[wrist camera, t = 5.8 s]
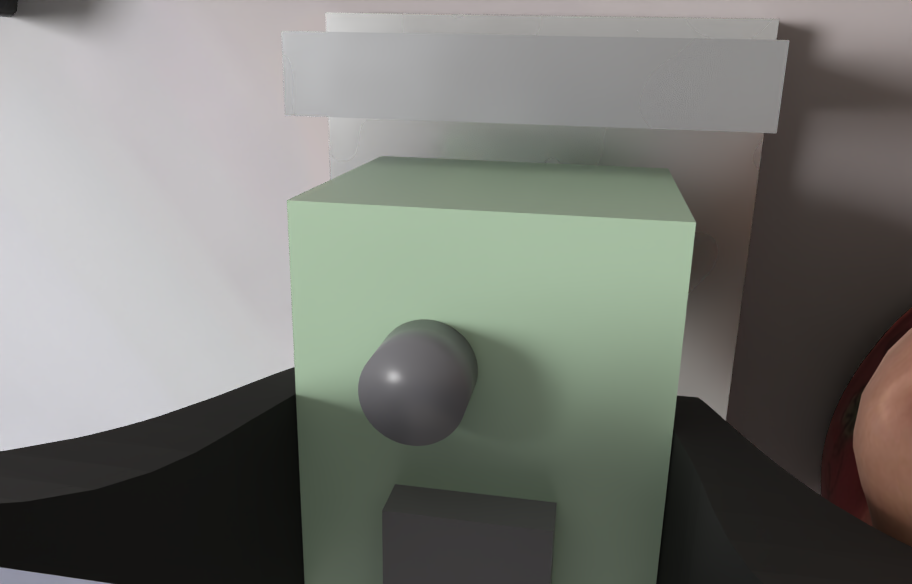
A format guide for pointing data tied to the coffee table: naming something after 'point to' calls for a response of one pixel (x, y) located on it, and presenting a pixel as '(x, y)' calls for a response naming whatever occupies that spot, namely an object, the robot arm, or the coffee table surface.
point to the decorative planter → (875, 438)
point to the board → (487, 370)
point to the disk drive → (8, 7)
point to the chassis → (568, 119)
